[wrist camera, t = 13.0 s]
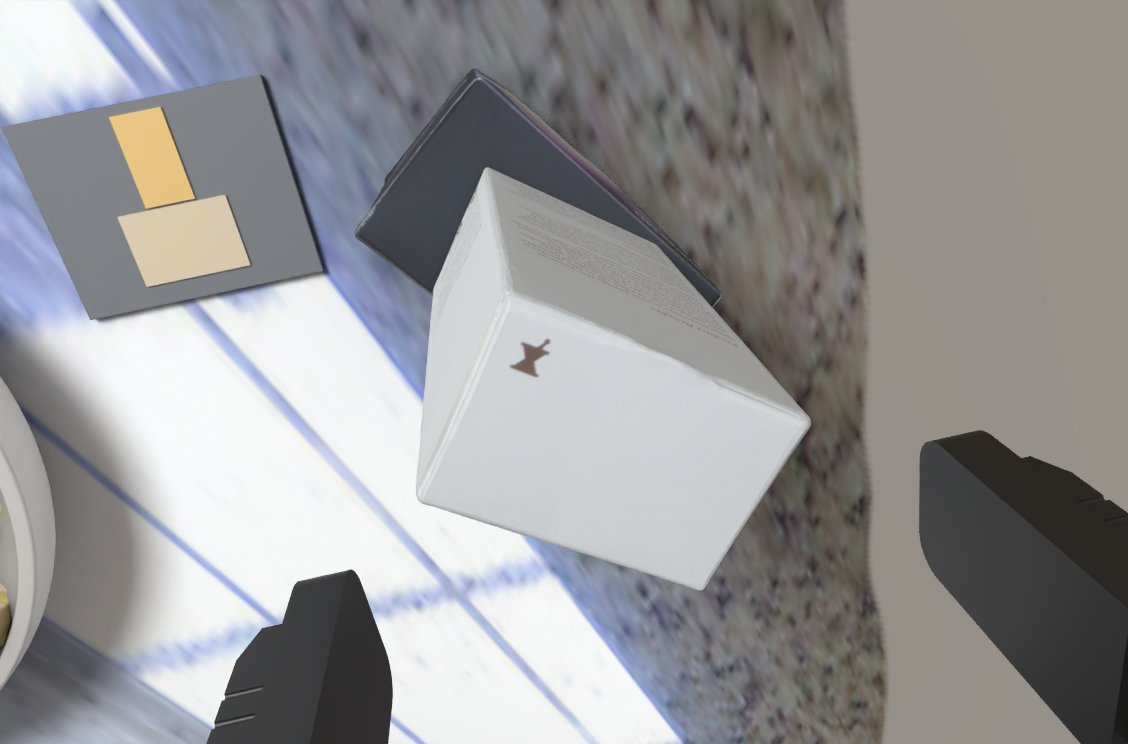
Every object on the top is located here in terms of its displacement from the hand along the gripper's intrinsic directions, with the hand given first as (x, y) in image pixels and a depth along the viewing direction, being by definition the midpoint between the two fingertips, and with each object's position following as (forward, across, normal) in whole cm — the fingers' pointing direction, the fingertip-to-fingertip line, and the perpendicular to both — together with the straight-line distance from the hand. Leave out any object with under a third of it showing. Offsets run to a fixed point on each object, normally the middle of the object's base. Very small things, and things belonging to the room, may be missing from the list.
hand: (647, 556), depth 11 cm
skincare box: (+15, 0, 0) cm, 15 cm away
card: (+25, +14, -3) cm, 29 cm away
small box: (+25, 0, 0) cm, 25 cm away
